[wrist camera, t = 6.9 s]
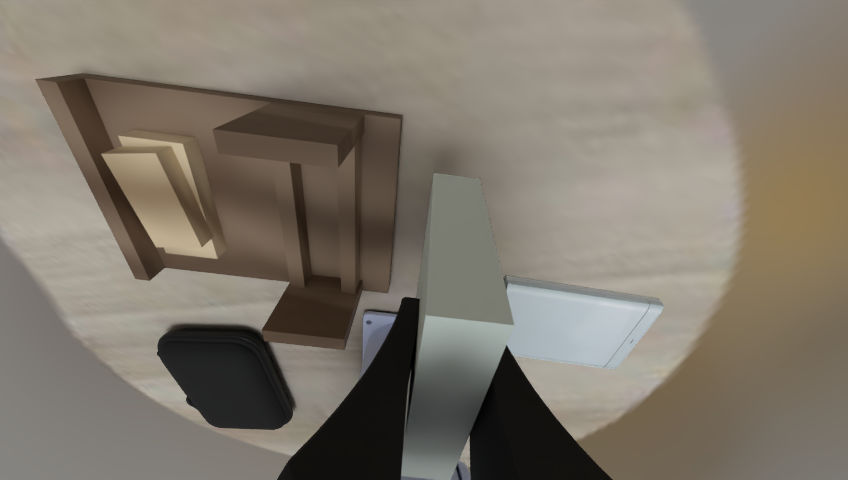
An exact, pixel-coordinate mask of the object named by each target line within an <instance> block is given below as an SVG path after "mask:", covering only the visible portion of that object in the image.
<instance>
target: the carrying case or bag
mask: <svg viewBox="0 0 848 480" xmlns="http://www.w3.org/2000/svg"><path fill="white" fill-rule="evenodd" d="M157 355H158V356H159V357H160V359H161V360H162V362H163V364H164V365H165V367H166V368H167V369H168V371H169V372H170V373H171V375H172V376H173V378H174V379H175V380H176V382H177V383H178V384H179V386H180V387H181V389H182V390H183V391H184V393H185V394H186V395H187V398H186V401H187V403H188V404H189V405H190V406H192V407H194V408H196V409H197V410H198V411H199V412H200V413H201V415H202V416H203V417H204V418H205V420H206V421H207V422H208V423H209V424H211V425H213V426H215V427H218V428H237V429H266V430H275V429H278V428H281V427H282V426H283V425H285V424H287V423H288V422H289V421H290V420H291V418H292V416H293V409H292V406H291V403H290V401H289V399H288V396H287V394H286V392H285V389H284V387H283V385H282V382H281V380H280V378H279V375H278V373H277V371H276V369H275V367H274V364H273V362H272V360H271V358H270V356H269V354H268V351H267V349H266V347H265V345H264V343H263V341H262V340H261V338H260V337H259V336H258V335H257V334H256V333H254V332H251V331H247V330H210V329H182V330H175V331H170V332H168V333H166V334H164V335H163V336H162V337H161V338H160V340H159V342H158V352H157Z"/></svg>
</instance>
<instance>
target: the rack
mask: <svg viewBox="0 0 848 480" xmlns="http://www.w3.org/2000/svg"><path fill="white" fill-rule="evenodd" d="M35 80H36V82H37V84H38V86H39V88H40V90H41V92H42V94H43V96H44V98H45V100H46V102H47V104H48V106H49V107H50V109H51V111H52V113H53V115H54V117H55V119H56V121H57V123H58V125H59V127H60V129H61V131H62V133H63V135H64V137H65V139H66V141H67V143H68V145H69V147H70V149H71V151H72V153H73V155H74V157H75V159H76V161H77V163H78V165H79V167H80V169H81V171H82V173H83V175H84V177H85V179H86V181H87V183H88V185H89V187H90V189H91V191H92V193H93V195H94V197H95V199H96V201H97V203H98V205H99V207H100V209H101V211H102V213H103V215H104V217H105V219H106V221H107V223H108V225H109V227H110V229H111V231H112V233H113V235H114V237H115V239H116V241H117V243H118V245H119V247H120V249H121V251H122V253H123V255H124V257H125V259H126V261H127V263H128V265H129V267H130V269H131V271H132V273H133V275H134V277H135V279H140V280H149V281H150V280H151V279H152V278H153V277H154V276H156V275H157V274H158V273H159V272H160V271H161V270H163V269H164V268H173V269H181V270H190V271H199V272H208V273H216V274H225V275H234V276H242V277H251V278H260V279H269V280H277V281H286V282H290V283H289V285H288V287H287V288H286V290H285V292H284V294H283V295H282V297H281V299H280V300H279V302H278V304H277V305H276V307H275V309H274V310H273V312H272V314H271V316H270V317H269V319H268V321H267V322H266V324H265V326H264V327H263V329H262V334H263V338H264V341H268V342H277V343H286V344H295V345H304V346H313V347H322V348H332V349H341V350H345V347H346V343H347V340H348V337H349V333H350V330H351V326H352V323H353V320H354V316H355V313H356V310H357V306H358V303H359V300H360V296H361V293H362V290H365V291H373V292H382V293H388V291H389V286H390V275H391V262H392V248H393V235H394V221H395V208H396V194H397V181H398V167H399V154H400V140H401V127H402V115H398V114H390V113H382V112H375V111H367V110H359V109H352V108H344V107H336V106H329V105H321V104H313V103H306V102H298V101H290V100H283V99H275V98H267V97H259V96H252V95H244V94H236V93H229V92H221V91H213V90H206V89H198V88H190V87H183V86H175V85H167V84H160V83H152V82H144V81H137V80H129V79H121V78H114V77H106V76H98V75H91V74H83V73H82V74H74V75H66V76H58V77H50V78H42V79H35ZM133 130H141V131H148V132H156V133H164V134H172V135H180V136H188V137H196V138H197V141H198V145H199V148H200V152H201V156H202V159H203V163H204V166H205V170H206V174H207V177H208V181H209V185H210V188H211V192H212V195H213V199H214V203H215V206H216V210H217V214H218V217H219V221H220V224H221V228H222V232H223V235H224V239H225V243H226V246H227V250H226V251H225V252H224V253H223V254H222V255H221V256H220V257H219V258H218V259H213V258H204V257H196V256H187V255H179V254H170V253H166V252H165V249H164V247H156V246H155V245H154V243H153V241H152V240H151V238H150V236H149V235H148V233H147V231H146V229H145V228H144V226H143V224H142V223H141V221H140V219H139V218H138V216H137V214H136V212H135V211H134V209H133V207H132V206H131V204H130V202H129V201H128V199H127V197H126V196H125V194H124V192H123V190H122V189H121V187H120V185H119V184H118V182H117V180H116V179H115V177H114V175H113V173H112V172H111V170H110V168H109V167H108V165H107V163H106V162H105V160H104V158H103V156H102V155H101V154H102V153H104V152H107V151H110V150H113V149H115V148H118V147H122V144H121V142H120V139H119V137H118V135H121V134H124V133H127V132H130V131H133Z"/></svg>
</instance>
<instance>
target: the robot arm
mask: <svg viewBox="0 0 848 480" xmlns="http://www.w3.org/2000/svg"><path fill="white" fill-rule="evenodd" d="M419 305H420V299H418V298H410V297H404V298H403V299H402V301H401V305H400V308H399V311H398V314H390V313H381V312H373V311H367V312H365V313H364V315H363V354H362V368H361V372H360V376H359V381H358V383H357V384H356V385H355V387H354V388H353V389H352V390H351V392H350V393H349V394H348V396H347V397H346V398H345V399H344V401H343V402H342V403H341V404H340V406H339V407H338V408H337V409H336V410H335V411H334V413H333V414H332V415H331V416H330V417H329V418H328V419H327V421H326V422H325V423H324V424H323V425H322V426H321V427H320V429H319V430H318V431H317V432H316V433H315V434H314V435H313V436H312V437H311V438H310V439H309V440H308V441H307V442H306V443H305V444H304V445H303V446H302V447H301V448H300V449H299V450H298V451H297V452H296V453H295V454H294V455H293V456H292V457H291V459H290V460H289V461H288V463H287V464H286V466H285V467H284V469H283V471H282V472H281V474H280V475H279V477H278V479H277V480H435V479H425V478H415V477H405V476H401V471H402V457H403V443H404V430H405V417H406V404H407V392H408V383H409V378H410V372H411V367H412V360H413V354H414V347H415V341H416V334H417V328H418V321H419ZM368 320H369V321H368ZM451 480H612V479H611V478H610V477H609V476H608V475H607V474H606V473H605V472H604V471H603V470H602V469H601V468H600V467H599V466H598V465H597V464H596V463H595V462H594V461H593V460H592V459H591V457H589V455H588V454H587V453H586V452H585V451H584V450H583V449H582V448H581V447H580V446H579V444H578V443H577V442H576V441H575V440H574V439H573V437H572V436H571V435H570V434H569V433H568V432H567V430H566V429H565V428H564V427H563V426H562V425H561V423H560V422H559V421H558V420H557V419H556V417H555V416H554V415H553V414H552V412H551V411H550V410H549V408H548V407H547V406H546V405H545V403H544V402H543V401H542V399H541V398H540V396H539V395H538V394H537V392H536V391H535V389H534V388H533V387H532V385H531V384H530V382H529V381H528V379H527V378H526V376H525V375H524V373H523V371H522V370H521V368H520V367H519V365H518V363H517V362H516V360H515V358H514V357H513V355H512V353H511V351H510V350H509V348H508V346H507V345H506V347H505V350H504V352H503V354H502V357H501V359H500V362H499V364H498V367H497V369H496V371H495V374H494V376H493V379H492V381H491V383H490V386H489V388H488V391H487V393H486V396H485V398H484V400H483V403H482V405H481V408H480V410H479V413H478V415H477V417H476V420H475V422H474V425H473V427H472V430H471V432H470V472H469V470H468V468H467V466H466V465H465V464H464V463H463V462H459V461H458V463H457V466H456V468H455V471H454V473H453V476H452V478H451Z"/></svg>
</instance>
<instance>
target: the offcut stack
mask: <svg viewBox="0 0 848 480" xmlns="http://www.w3.org/2000/svg"><path fill="white" fill-rule="evenodd" d="M118 137H119V139H120V142H121V144H122V147H118V148H115V149H113V150H110V151H107V152H104V153H102V154H101V155H102V156H103V158H104V160H105V162H106V163H107V165H108V167H109V168H110V170H111V172H112V173H113V175H114V177H115V179H116V180H117V182H118V184H119V185H120V187H121V189H122V190H123V192H124V194H125V196H126V197H127V199H128V201H129V202H130V204H131V206H132V207H133V209H134V211H135V212H136V214H137V216H138V218H139V219H140V221H141V223H142V224H143V226H144V228H145V229H146V231H147V233H148V235H149V236H150V238H151V240H152V241H153V243H154V245H155V246H156V247H164V249H165V252H166V253H170V254H179V255H187V256H196V257H204V258H213V259H218V258H219V257H220V256H221V255H222V254H223V253H224V252H225V251H226V250H227V246H226V243H225V239H224V235H223V232H222V228H221V224H220V221H219V217H218V214H217V210H216V206H215V203H214V199H213V195H212V192H211V188H210V185H209V181H208V177H207V174H206V170H205V166H204V163H203V159H202V156H201V152H200V148H199V145H198V141H197V138H196V137H188V136H180V135H172V134H164V133H156V132H148V131H141V130H133V131H130V132H127V133H124V134H121V135H118Z"/></svg>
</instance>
